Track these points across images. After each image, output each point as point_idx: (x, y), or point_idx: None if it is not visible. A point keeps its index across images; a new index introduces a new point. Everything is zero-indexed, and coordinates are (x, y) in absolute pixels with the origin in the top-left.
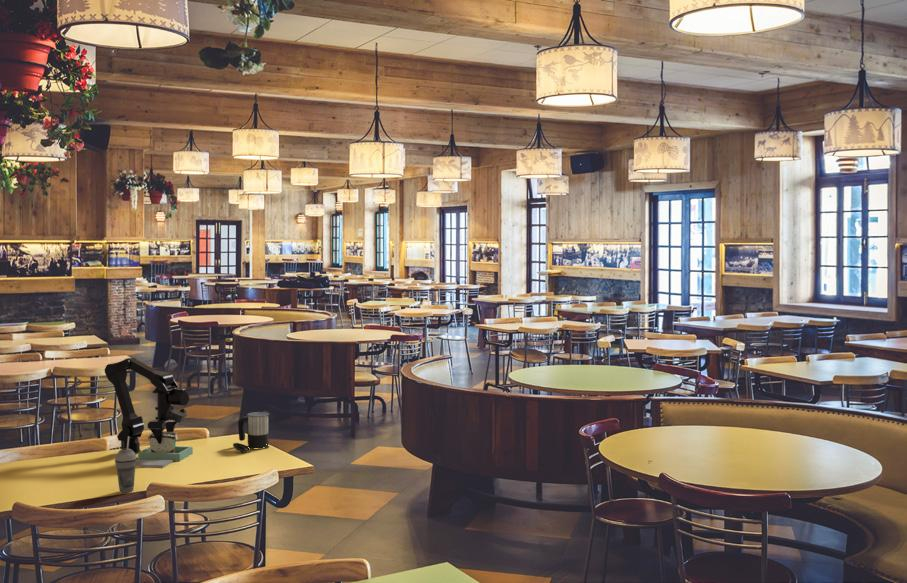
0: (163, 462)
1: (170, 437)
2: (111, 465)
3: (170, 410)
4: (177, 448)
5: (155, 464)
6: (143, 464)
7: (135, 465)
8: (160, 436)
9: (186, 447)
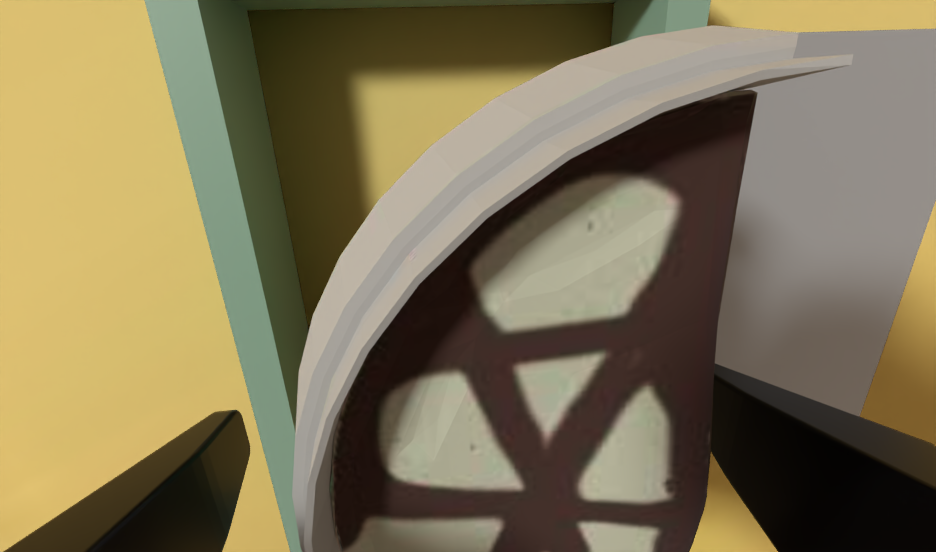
0: (856, 100)
1: (721, 247)
2: (770, 542)
3: None
4: (258, 227)
5: (933, 154)
6: (898, 290)
7: (866, 360)
8: (932, 462)
9: (210, 50)
